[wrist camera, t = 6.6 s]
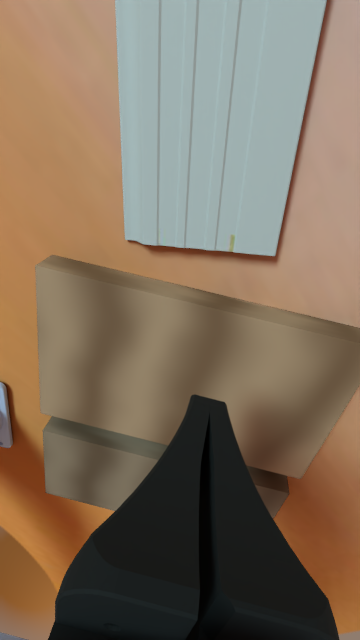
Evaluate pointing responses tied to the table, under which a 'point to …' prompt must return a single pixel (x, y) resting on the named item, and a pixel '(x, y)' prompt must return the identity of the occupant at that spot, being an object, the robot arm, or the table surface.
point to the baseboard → (212, 117)
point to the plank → (189, 362)
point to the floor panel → (118, 466)
